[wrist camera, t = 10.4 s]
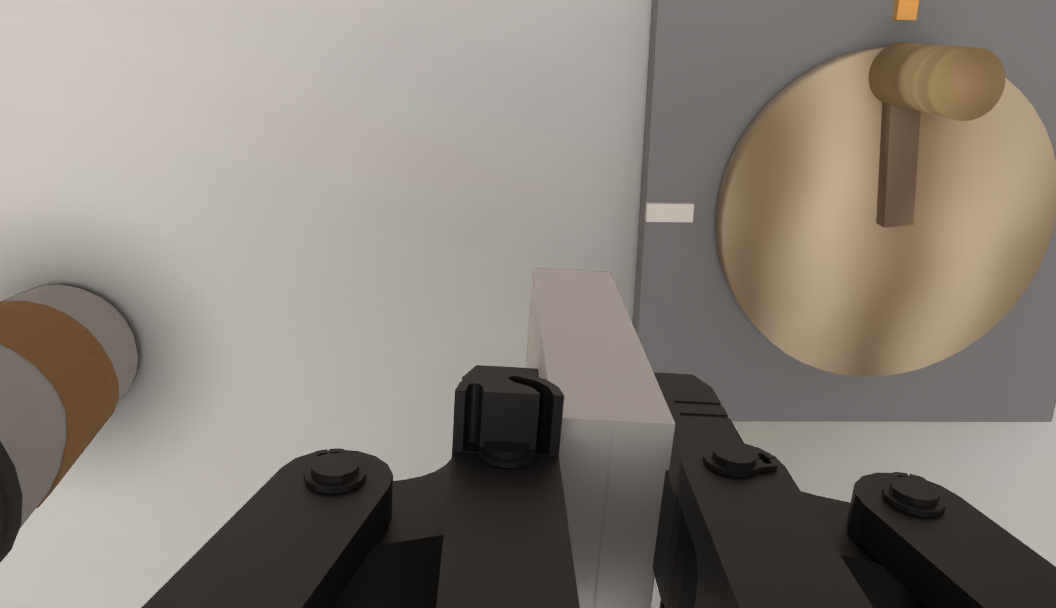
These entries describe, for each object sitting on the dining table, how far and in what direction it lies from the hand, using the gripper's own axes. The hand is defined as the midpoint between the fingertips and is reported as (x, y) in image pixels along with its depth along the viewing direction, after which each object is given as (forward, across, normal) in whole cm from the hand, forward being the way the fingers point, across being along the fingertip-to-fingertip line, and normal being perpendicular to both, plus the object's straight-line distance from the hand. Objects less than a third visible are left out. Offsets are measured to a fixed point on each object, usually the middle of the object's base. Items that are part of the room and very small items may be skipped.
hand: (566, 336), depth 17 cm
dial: (+21, +15, -1) cm, 26 cm away
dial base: (+22, +15, -1) cm, 27 cm away
